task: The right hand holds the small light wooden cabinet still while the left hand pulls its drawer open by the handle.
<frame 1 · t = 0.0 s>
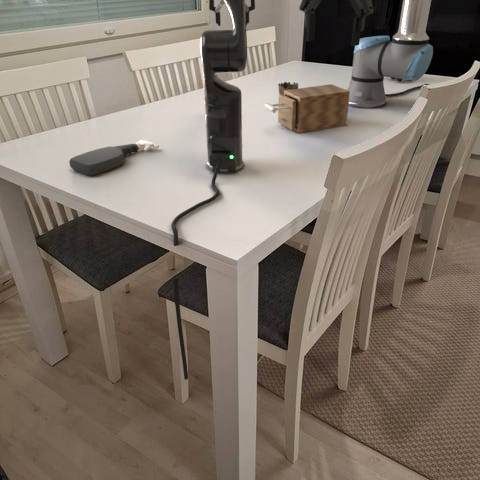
left hand: (232, 25, 142), 29 cm above the table, tool pointing down, fingers open, 8 cm apart
right hand: (332, 43, 117), 28 cm above the table, tool pointing down, fingers open, 13 cm apart
cabinet: (314, 124, 149), on the table
spray bottle: (117, 159, 125), on the table
drawer: (299, 110, 144), point 5 cm above the table, slide at 1.0 cm
cup: (287, 106, 168), on the table
squiggle: (399, 80, 200), on the table
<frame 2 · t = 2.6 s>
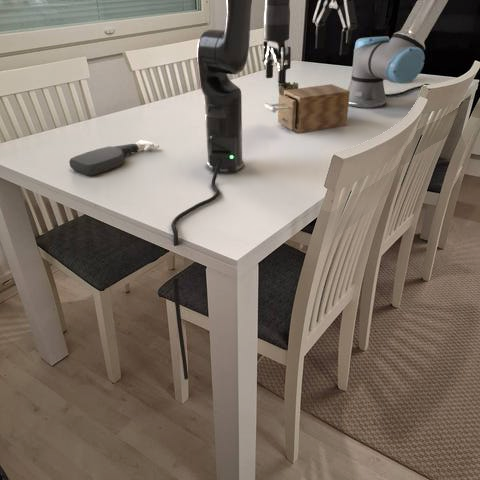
left hand: (275, 80, 136), 15 cm above the table, tool pointing down, fingers open, 8 cm apart
right hand: (331, 51, 138), 22 cm above the table, tool pointing down, fingers open, 13 cm apart
nothing on the table moved.
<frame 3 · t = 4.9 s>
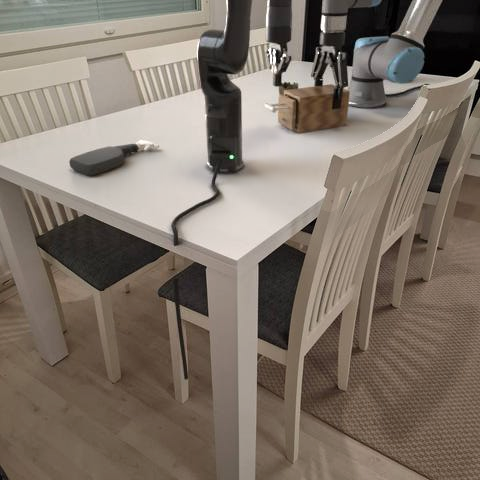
left hand: (277, 85, 137), 14 cm above the table, tool pointing down, fingers closed
right hand: (326, 104, 147), 6 cm above the table, tool pointing down, fingers closed on cabinet, 11 cm apart
cabinet: (314, 124, 149), on the table, touching right hand
everything else where it was.
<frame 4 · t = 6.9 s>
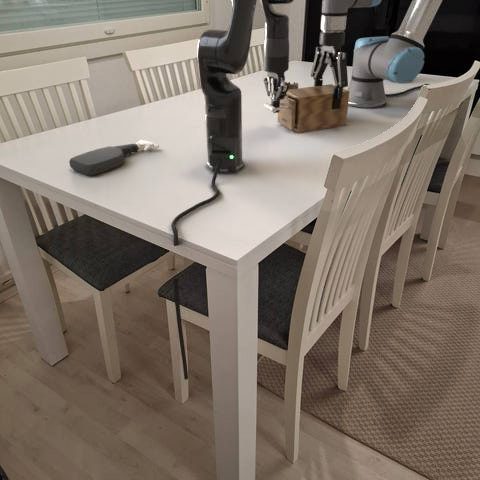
left hand: (275, 112, 141), 6 cm above the table, tool pointing down, fingers closed
right hand: (326, 104, 147), 6 cm above the table, tool pointing down, fingers closed on cabinet, 11 cm apart
cabinet: (313, 124, 149), on the table, touching right hand
drawer: (299, 110, 144), point 6 cm above the table, slide at 1.0 cm, touching left hand
everything else where it was.
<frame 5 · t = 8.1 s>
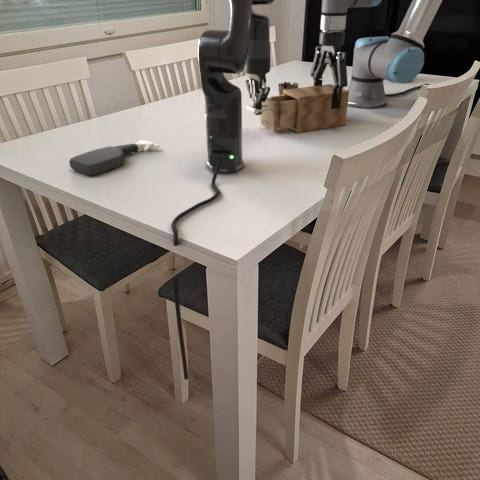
left hand: (257, 114, 139), 6 cm above the table, tool pointing down, fingers closed
right hand: (325, 104, 147), 6 cm above the table, tool pointing down, fingers closed on cabinet, 11 cm apart
cabinet: (313, 124, 149), on the table, touching right hand
drawer: (282, 112, 142), point 6 cm above the table, slide at 7.0 cm, touching left hand
everything else where it was.
when the right hand's fingers open (6 cm above the table, at t = 10.1 s): cabinet stays where it is, on the table.
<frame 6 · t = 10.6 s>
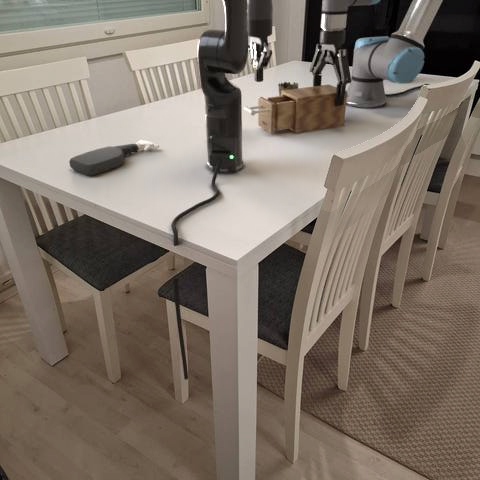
left hand: (258, 81, 134), 16 cm above the table, tool pointing down, fingers closed
right hand: (327, 100, 146), 7 cm above the table, tool pointing down, fingers open, 13 cm apart
cabinet: (311, 124, 149), on the table
drawer: (280, 112, 142), point 5 cm above the table, slide at 7.3 cm
everything else where it was.
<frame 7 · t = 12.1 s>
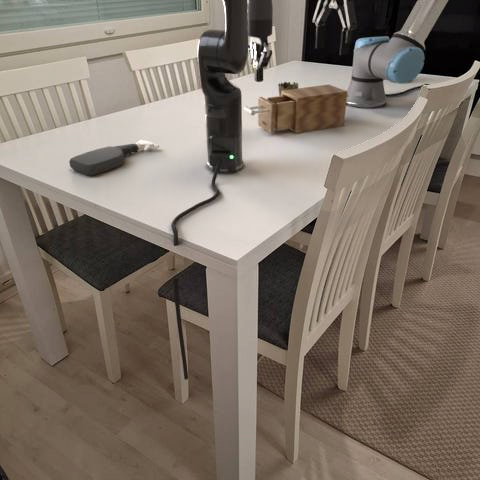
left hand: (258, 81, 134), 16 cm above the table, tool pointing down, fingers closed
right hand: (331, 51, 138), 22 cm above the table, tool pointing down, fingers open, 13 cm apart
nothing on the table moved.
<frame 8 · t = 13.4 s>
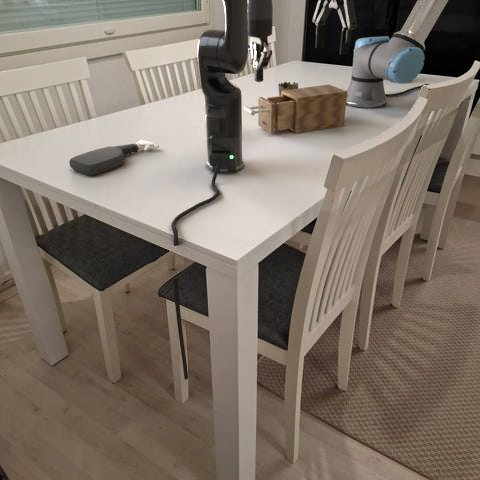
left hand: (258, 81, 134), 16 cm above the table, tool pointing down, fingers closed
right hand: (331, 51, 138), 22 cm above the table, tool pointing down, fingers open, 13 cm apart
nothing on the table moved.
at the end: drawer slide at 7.3 cm; cabinet tilted 0°; cabinet never tilted more than 3° during the clip; cabinet moved 0.9 cm from its start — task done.
